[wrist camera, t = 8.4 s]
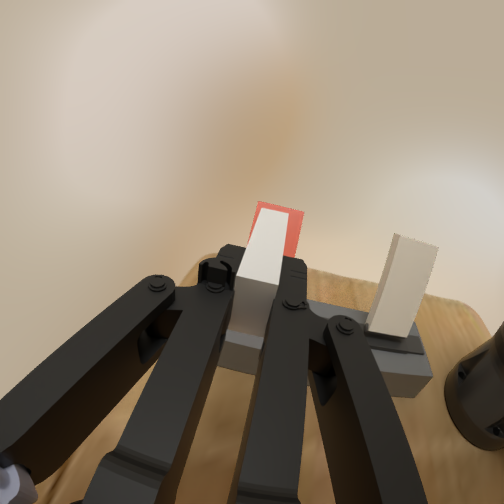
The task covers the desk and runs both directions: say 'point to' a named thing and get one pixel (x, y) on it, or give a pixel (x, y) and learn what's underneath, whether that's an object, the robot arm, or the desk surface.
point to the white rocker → (401, 287)
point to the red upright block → (292, 226)
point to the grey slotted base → (383, 347)
